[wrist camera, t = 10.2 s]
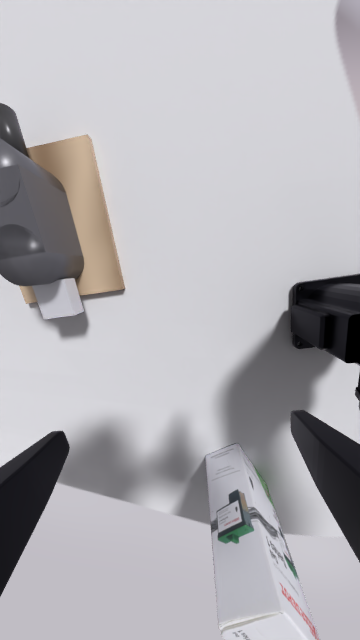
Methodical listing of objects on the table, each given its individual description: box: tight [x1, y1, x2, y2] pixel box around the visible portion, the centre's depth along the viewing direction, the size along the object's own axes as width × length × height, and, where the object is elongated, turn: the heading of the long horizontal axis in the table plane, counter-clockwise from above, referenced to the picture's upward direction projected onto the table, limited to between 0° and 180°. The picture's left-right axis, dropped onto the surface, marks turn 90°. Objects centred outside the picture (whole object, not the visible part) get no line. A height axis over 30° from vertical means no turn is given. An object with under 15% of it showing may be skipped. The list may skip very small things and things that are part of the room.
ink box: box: [205, 443, 320, 640], centre depth 18 cm, size 9×5×12 cm, turn 32°
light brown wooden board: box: [20, 135, 125, 304], centre depth 16 cm, size 10×12×1 cm
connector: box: [0, 103, 84, 319], centre depth 14 cm, size 4×15×4 cm, turn 8°
